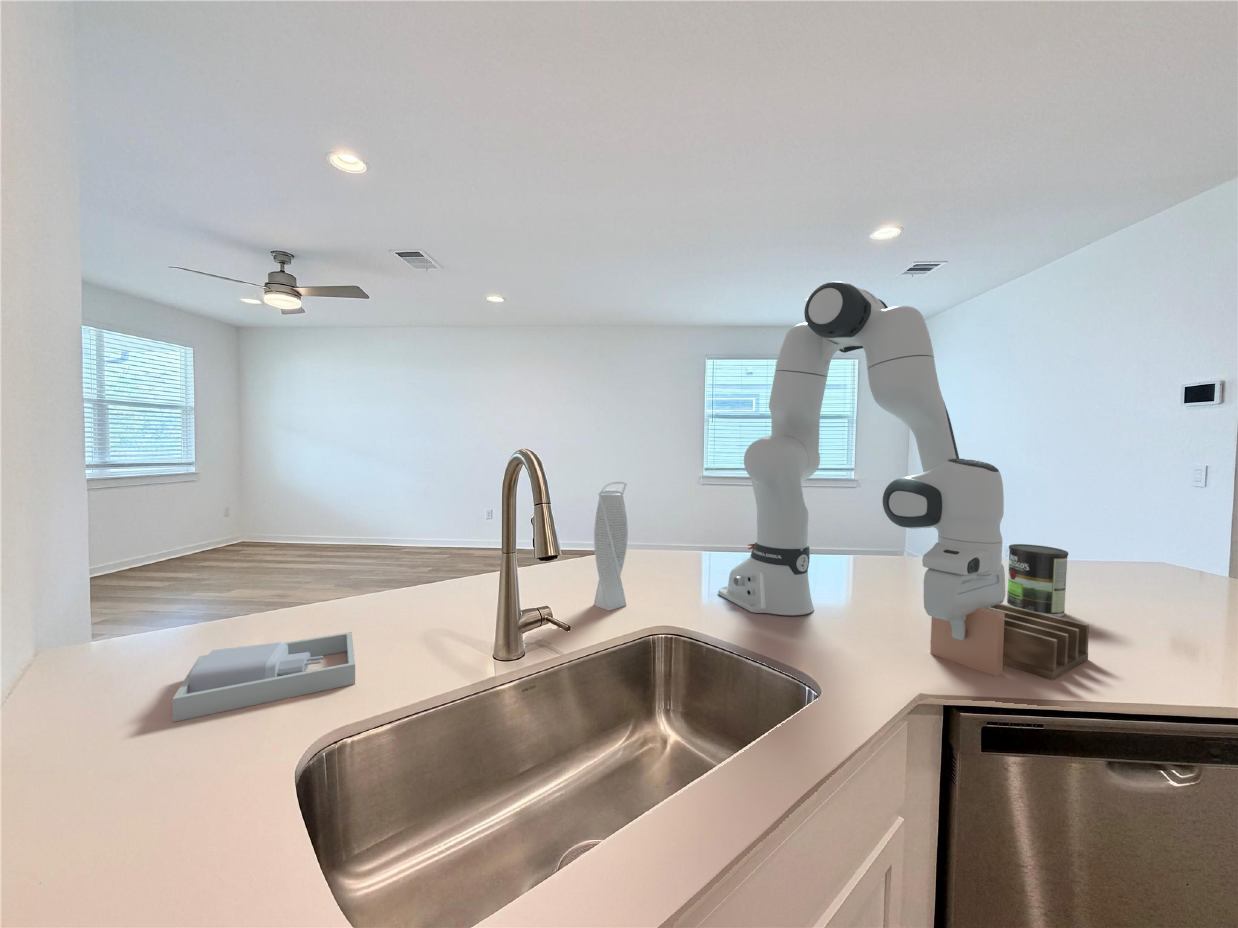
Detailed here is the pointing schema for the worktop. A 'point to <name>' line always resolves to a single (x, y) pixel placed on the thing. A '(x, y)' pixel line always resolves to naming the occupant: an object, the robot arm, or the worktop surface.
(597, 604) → the skyscraper
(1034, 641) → the dish rack
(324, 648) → the tray
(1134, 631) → the worktop surface
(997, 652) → the tan wooden panel
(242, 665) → the charger
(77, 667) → the worktop surface
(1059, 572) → the coffee can
